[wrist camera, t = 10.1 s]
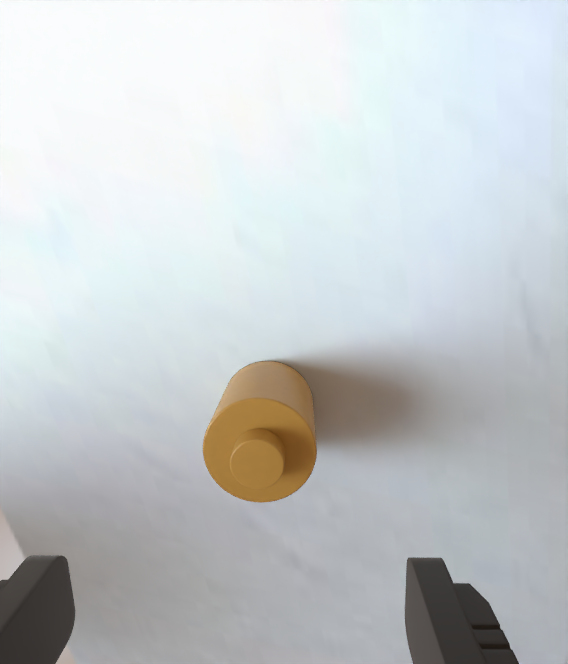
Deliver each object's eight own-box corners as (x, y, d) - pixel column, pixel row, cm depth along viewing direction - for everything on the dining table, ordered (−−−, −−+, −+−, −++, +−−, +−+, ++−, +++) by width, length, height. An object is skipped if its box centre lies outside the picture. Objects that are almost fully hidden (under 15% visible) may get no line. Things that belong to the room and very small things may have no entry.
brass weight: (226, 445, 23) (200, 519, 17) (221, 361, 22) (192, 408, 16) (313, 444, 23) (318, 518, 17) (312, 359, 22) (317, 407, 16)
